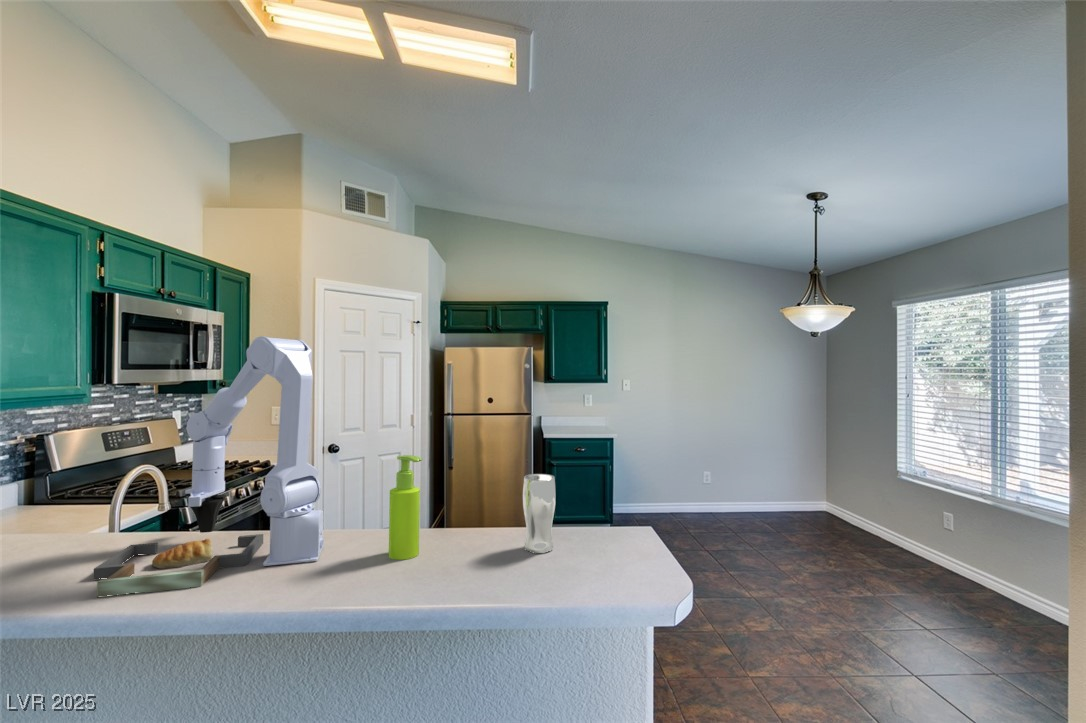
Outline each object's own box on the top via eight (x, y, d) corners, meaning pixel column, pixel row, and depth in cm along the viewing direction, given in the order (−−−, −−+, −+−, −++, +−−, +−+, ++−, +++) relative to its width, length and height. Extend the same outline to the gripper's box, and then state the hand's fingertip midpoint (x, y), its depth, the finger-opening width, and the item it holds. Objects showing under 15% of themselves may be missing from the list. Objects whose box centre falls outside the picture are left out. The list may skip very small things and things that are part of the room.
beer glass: (550, 556, 95) (550, 481, 95) (517, 552, 97) (518, 479, 97) (558, 544, 102) (559, 474, 102) (528, 541, 103) (528, 472, 104)
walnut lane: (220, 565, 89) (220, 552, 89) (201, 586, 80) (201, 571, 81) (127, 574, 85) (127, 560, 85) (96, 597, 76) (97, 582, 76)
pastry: (152, 575, 85) (152, 553, 85) (151, 563, 90) (152, 543, 91) (214, 561, 92) (215, 542, 92) (210, 552, 97) (211, 533, 97)
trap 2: (263, 543, 101) (263, 533, 101) (245, 565, 89) (245, 554, 89) (239, 545, 100) (239, 535, 100) (218, 567, 88) (218, 557, 88)
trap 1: (157, 552, 95) (157, 542, 95) (124, 577, 84) (124, 565, 84) (130, 554, 94) (131, 544, 94) (93, 580, 83) (93, 568, 83)
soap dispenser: (406, 563, 91) (407, 459, 91) (382, 556, 94) (384, 456, 95) (428, 553, 96) (430, 455, 96) (405, 547, 99) (406, 452, 100)
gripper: (200, 462, 107) (198, 522, 107) (171, 476, 94) (169, 545, 93) (236, 461, 110) (234, 520, 109) (212, 474, 96) (210, 541, 95)
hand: (206, 531), depth 101 cm, fingers closed
